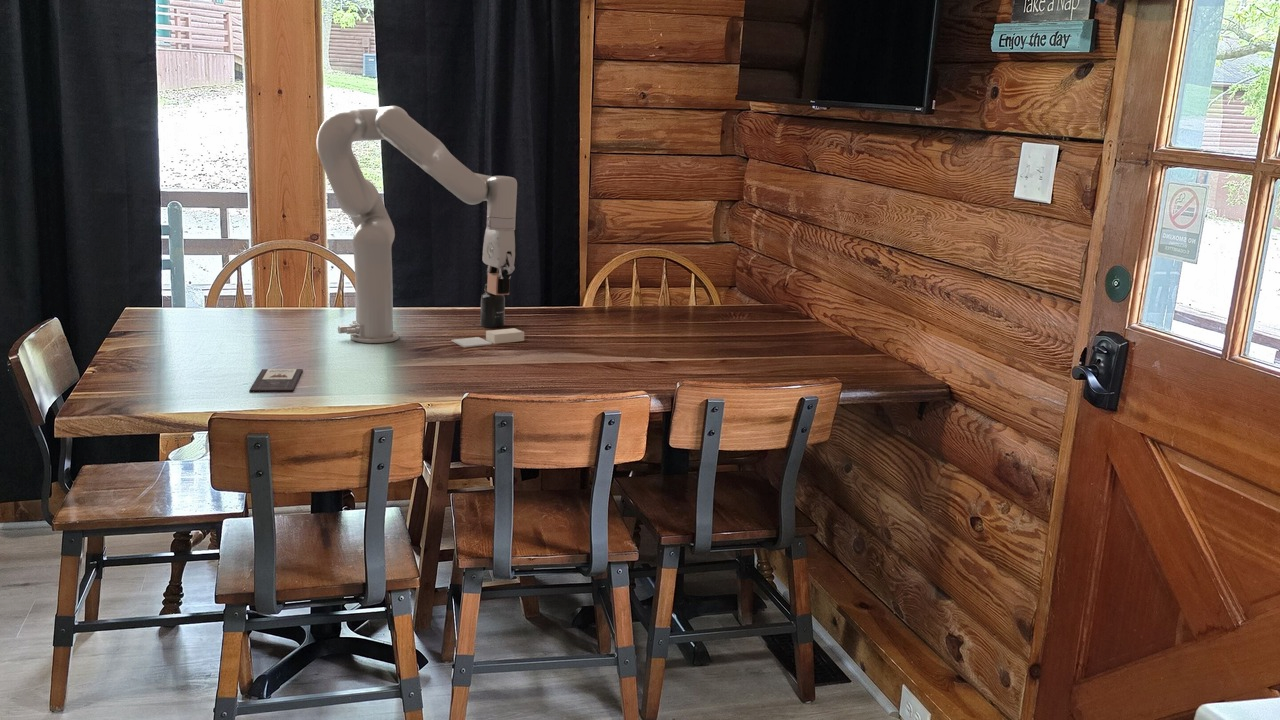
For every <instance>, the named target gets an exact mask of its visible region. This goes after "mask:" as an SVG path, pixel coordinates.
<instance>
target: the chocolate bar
mask: <svg viewBox="0 0 1280 720" xmlns="http://www.w3.org/2000/svg"><path fill="white" fill-rule="evenodd" d="M303 371H304V369H303V368H286V369H285V368H273V369H272V368H264V369H261V371H259V373H258V375H257V377H256V378H255V380H254V382H253V384H252V385H251V387H250V389H249V393H253V394H254V393H256V394H257V393H294V391H295V389H296V387H297V384H298V383H299V380H300V378H301V376H302V374H303Z"/></svg>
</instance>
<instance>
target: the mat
mask: <svg viewBox="0 0 1280 720" xmlns="http://www.w3.org/2000/svg"><path fill="white" fill-rule="evenodd" d="M451 342H452V343H455V344H457V345H458V346H460V347H462V348H474V347H481V346H491V345H493V343H491V342H489V341H487V340H486V339H484V338H481V337H479V336H475V337H465V338H458V339H457V338H456V339H455V338H453V339H451Z"/></svg>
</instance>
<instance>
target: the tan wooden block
mask: <svg viewBox="0 0 1280 720" xmlns="http://www.w3.org/2000/svg"><path fill="white" fill-rule="evenodd" d="M498 279H500V276H499V272H498V273H488V274H487V279H486V280H487V282H486V284H487V292H489V293H491V294H494V295H504V296H505V295H507V296H509V295H510V292H509V293H508V294H498ZM510 282H511V281H510ZM510 282H509V287H510Z"/></svg>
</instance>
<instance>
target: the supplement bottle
mask: <svg viewBox="0 0 1280 720" xmlns="http://www.w3.org/2000/svg"><path fill="white" fill-rule="evenodd" d="M505 303H506V298H505V295H494V294H491V293H489V292H487V283H485V284H484V293H483V294H481V297H480V326H481V327H484V328H490V329H494V328H495V329H496V328H503V327H504V325H505V310H506V304H505Z"/></svg>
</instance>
